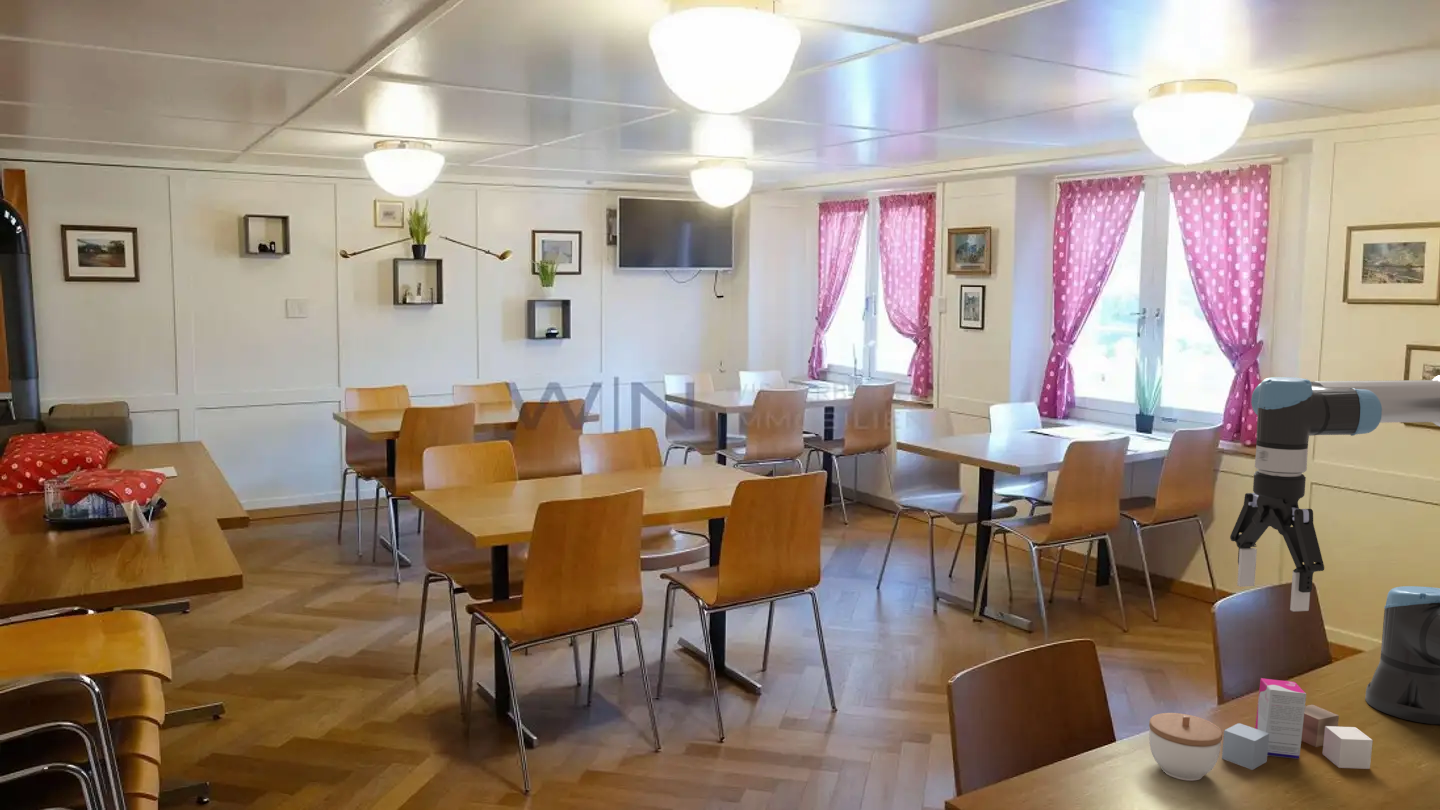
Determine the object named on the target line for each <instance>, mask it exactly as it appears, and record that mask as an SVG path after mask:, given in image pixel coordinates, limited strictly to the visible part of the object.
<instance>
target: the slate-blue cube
mask: <svg viewBox="0 0 1440 810" xmlns="http://www.w3.org/2000/svg"><path fill="white" fill-rule="evenodd" d="M1222 739H1223V741H1222V754H1221V759H1222V760H1225V761H1227V762H1231V763H1232V764H1235V765H1238V766H1241V767H1243V768H1247V769H1248V770H1251V771H1253V770H1255V769H1256V768H1258V767H1260V766H1262V765H1264V764H1266V763H1267V760H1268V756H1267V753H1268V742H1269V733H1267V732H1264V731H1261V730H1258V729H1255V727H1253V726H1249V725H1246V724H1243V723H1240V722H1237V723H1236V724H1233V725H1232V726H1230V727H1228V728H1226V729H1224V730H1223V738H1222Z"/></svg>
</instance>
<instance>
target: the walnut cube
mask: <svg viewBox="0 0 1440 810" xmlns="http://www.w3.org/2000/svg"><path fill="white" fill-rule="evenodd" d="M1339 717H1340V715H1339V714H1337V713H1334V712H1331V711H1330V710H1327V709H1325V708H1322V707H1319V706H1318V705H1314V704H1308V705H1305V711H1304V720H1303V729H1302V739H1301V742H1304V743H1306V744H1308V745H1310V746H1312V747H1315V748H1319V747H1323V743H1324V733H1325V726H1336V727H1339V719H1340V718H1339Z"/></svg>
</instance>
